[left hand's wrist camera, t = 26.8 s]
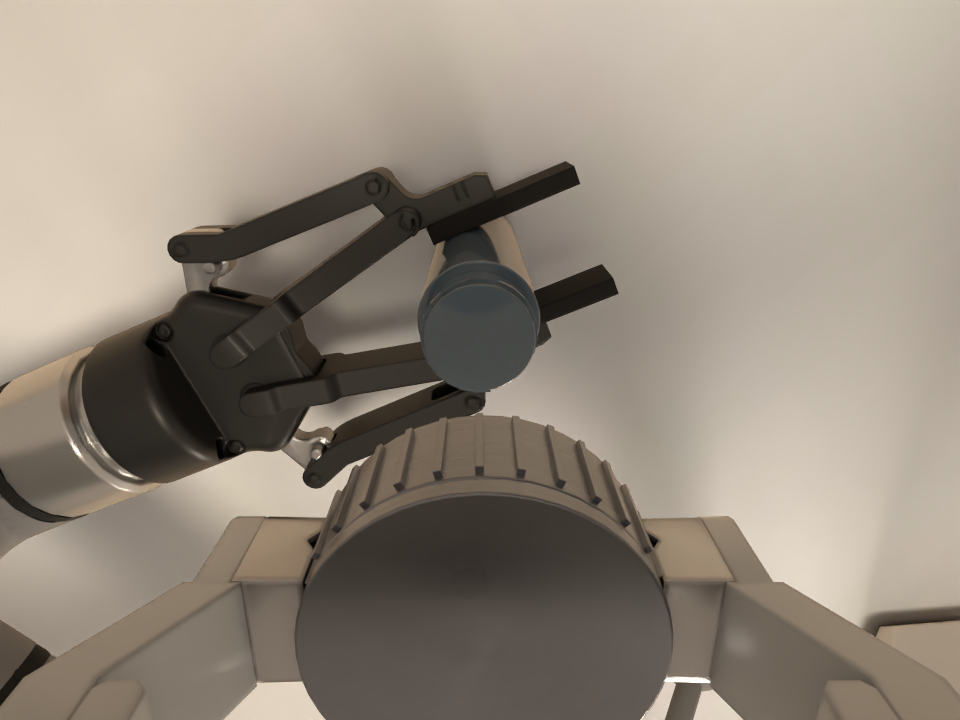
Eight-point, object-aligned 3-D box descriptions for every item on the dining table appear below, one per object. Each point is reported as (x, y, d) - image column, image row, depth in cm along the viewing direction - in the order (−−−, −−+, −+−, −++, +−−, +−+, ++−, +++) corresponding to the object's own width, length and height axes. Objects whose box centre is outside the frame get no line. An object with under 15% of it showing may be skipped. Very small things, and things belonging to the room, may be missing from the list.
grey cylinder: (434, 208, 34) (406, 277, 20) (514, 203, 34) (544, 270, 20) (440, 285, 36) (418, 403, 21) (517, 281, 36) (547, 397, 21)
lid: (259, 507, 10) (205, 603, 8) (544, 348, 9) (561, 413, 7) (435, 712, 12) (425, 835, 10) (694, 594, 11) (743, 703, 9)
